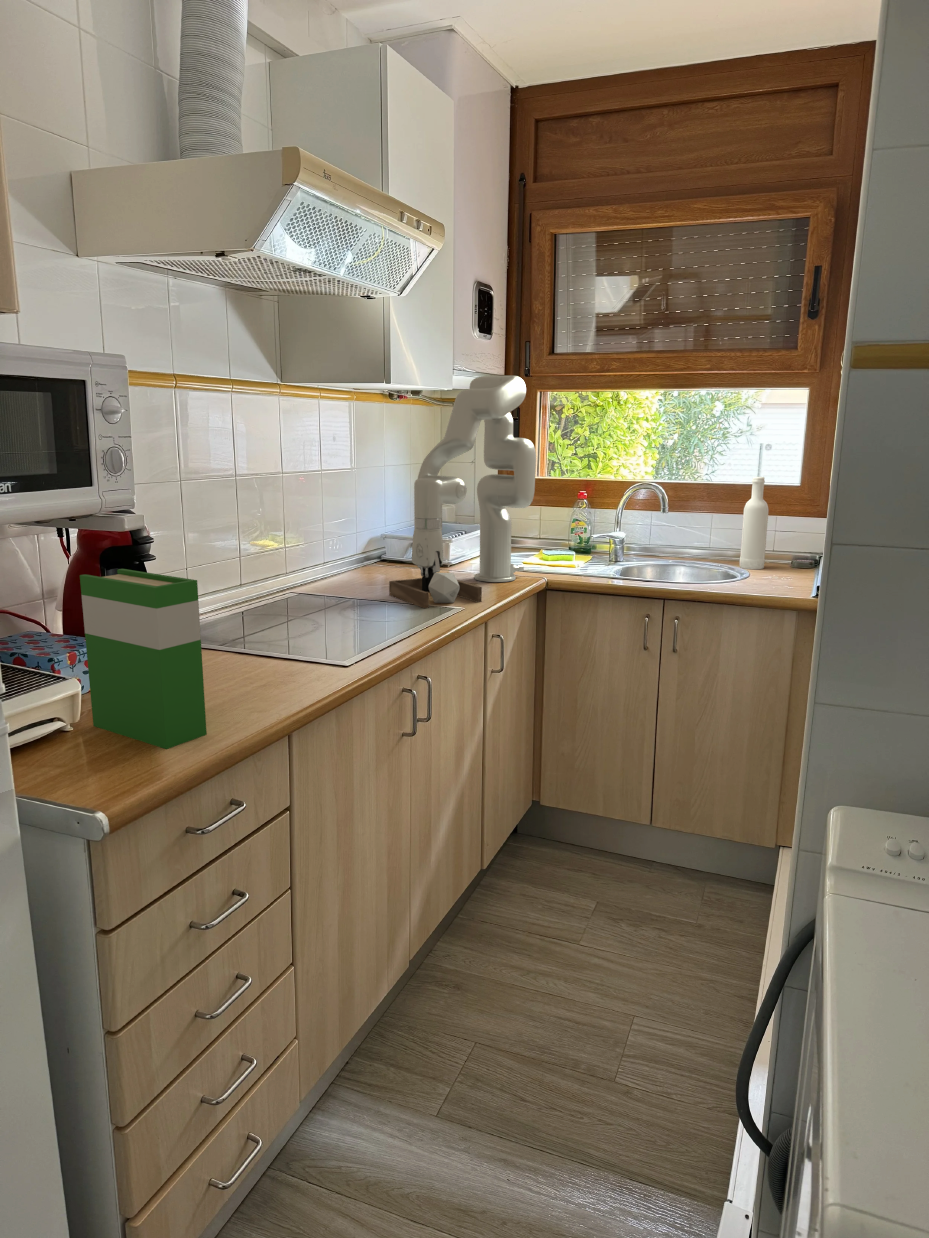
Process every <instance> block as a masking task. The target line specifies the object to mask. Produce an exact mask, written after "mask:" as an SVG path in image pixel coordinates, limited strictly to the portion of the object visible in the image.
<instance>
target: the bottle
mask: <svg viewBox="0 0 929 1238" xmlns="http://www.w3.org/2000/svg"><path fill="white" fill-rule="evenodd" d="M765 482H766V481H765V477H764V476H753V477H752V481H751V484H752V486H751V498H750V499H749V500H748V501H747V502H745V505H744V506H743V517H742V530H741V541H740V543H741V544H740V555H739V556H740V557H739V568H740V569H743V570H745V569H746V570H763V569H764V568H765V563H766V562H765V561H766V559H765V558H766V547H767V546H766V545H767V536H768V535H767V534H768V533H767V532H768V523H769V522H768V521H769V506H768V503H767V501H766V500H765V499H764V490H765V489H764V488H765Z"/></svg>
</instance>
